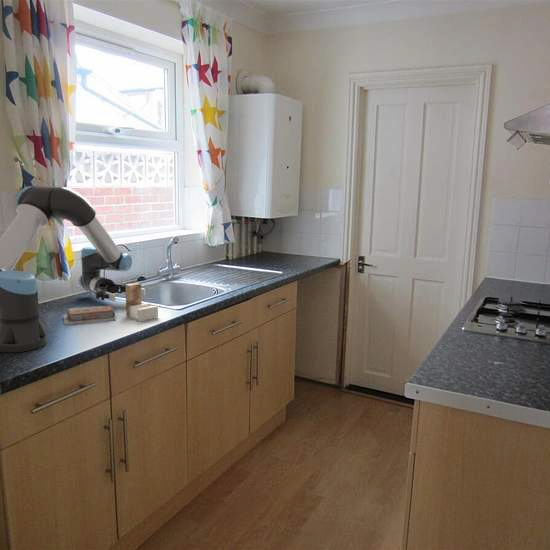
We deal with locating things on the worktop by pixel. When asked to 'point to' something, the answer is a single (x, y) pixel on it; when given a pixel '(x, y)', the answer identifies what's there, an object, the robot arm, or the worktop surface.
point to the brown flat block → (89, 315)
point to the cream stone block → (143, 312)
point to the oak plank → (132, 296)
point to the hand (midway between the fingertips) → (129, 295)
